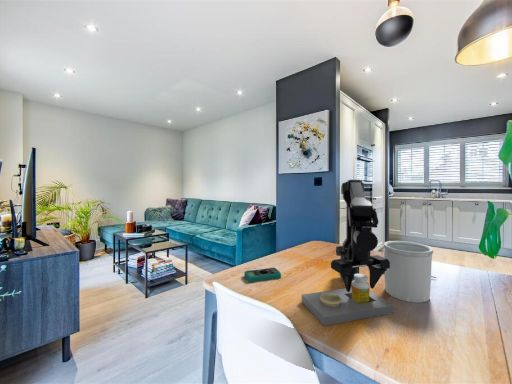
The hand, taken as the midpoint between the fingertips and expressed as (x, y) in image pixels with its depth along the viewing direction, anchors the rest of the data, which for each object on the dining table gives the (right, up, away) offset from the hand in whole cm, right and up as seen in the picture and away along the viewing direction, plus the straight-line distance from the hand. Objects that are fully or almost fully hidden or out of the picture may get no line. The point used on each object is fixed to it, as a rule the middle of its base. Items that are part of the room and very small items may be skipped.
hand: (360, 289), depth 78 cm
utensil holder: (+20, -5, +8) cm, 22 cm away
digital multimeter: (-31, -5, +23) cm, 39 cm away
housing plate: (-5, -5, -1) cm, 7 cm away
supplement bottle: (0, -5, 0) cm, 5 cm away
